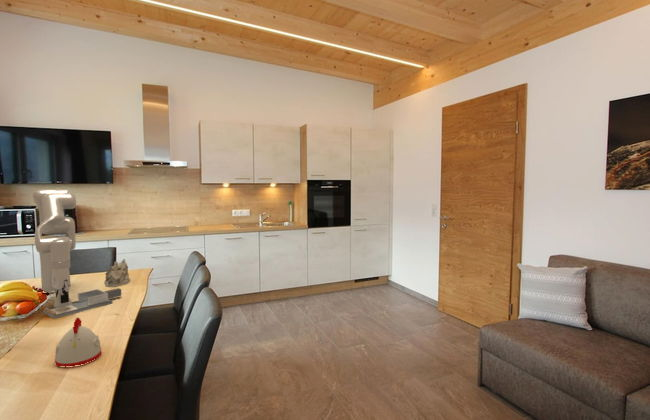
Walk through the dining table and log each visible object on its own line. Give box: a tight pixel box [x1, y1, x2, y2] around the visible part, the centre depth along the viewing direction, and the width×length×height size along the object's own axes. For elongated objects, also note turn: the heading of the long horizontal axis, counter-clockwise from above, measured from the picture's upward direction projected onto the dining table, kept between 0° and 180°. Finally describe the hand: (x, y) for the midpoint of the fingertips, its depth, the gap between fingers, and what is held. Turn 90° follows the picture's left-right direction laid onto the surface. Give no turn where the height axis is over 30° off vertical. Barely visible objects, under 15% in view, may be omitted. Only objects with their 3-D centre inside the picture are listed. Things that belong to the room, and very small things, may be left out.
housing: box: [77, 287, 122, 306], centre depth 187 cm, size 12×18×4 cm, turn 145°
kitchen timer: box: [54, 317, 102, 367], centre depth 129 cm, size 14×14×15 cm
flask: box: [52, 287, 72, 308], centre depth 172 cm, size 7×7×10 cm
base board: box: [42, 299, 114, 319], centre depth 178 cm, size 13×26×2 cm, turn 145°
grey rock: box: [103, 258, 131, 288], centre depth 219 cm, size 16×16×15 cm
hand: (62, 300), depth 172 cm, fingers closed on flask, 4 cm apart
